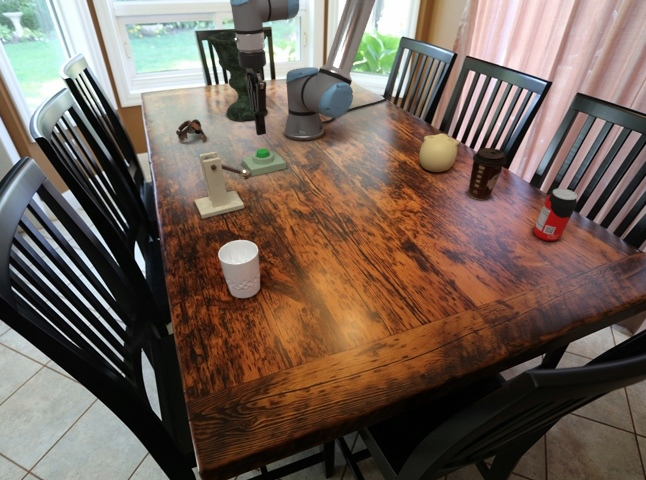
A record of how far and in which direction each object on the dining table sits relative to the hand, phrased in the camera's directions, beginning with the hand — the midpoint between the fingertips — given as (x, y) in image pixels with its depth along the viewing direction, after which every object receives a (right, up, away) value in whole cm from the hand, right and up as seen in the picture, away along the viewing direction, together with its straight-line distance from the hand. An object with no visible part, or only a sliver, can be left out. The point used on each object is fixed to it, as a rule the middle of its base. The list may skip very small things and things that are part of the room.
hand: (261, 133), depth 120 cm
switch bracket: (-10, -25, -12) cm, 29 cm away
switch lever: (-7, -17, -17) cm, 25 cm away
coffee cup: (+65, -21, -8) cm, 69 cm away
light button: (0, -6, +5) cm, 7 cm away
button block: (0, -8, +7) cm, 11 cm away
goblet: (-13, +25, +46) cm, 54 cm away
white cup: (+2, -47, -38) cm, 60 cm away
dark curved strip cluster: (-30, +6, +25) cm, 39 cm away
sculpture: (+57, -10, +5) cm, 58 cm away
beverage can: (+76, -34, -24) cm, 87 cm away
